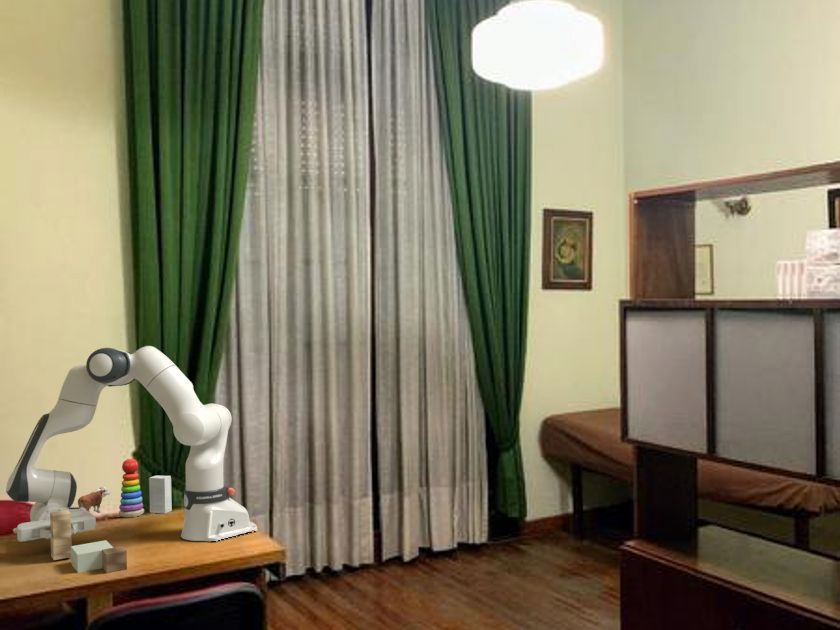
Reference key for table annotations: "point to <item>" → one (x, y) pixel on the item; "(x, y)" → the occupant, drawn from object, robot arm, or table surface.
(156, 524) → the table surface
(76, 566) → the plinth
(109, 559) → the walnut block
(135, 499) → the stacking toy
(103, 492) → the bull figurine
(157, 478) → the skincare box
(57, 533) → the oak post
